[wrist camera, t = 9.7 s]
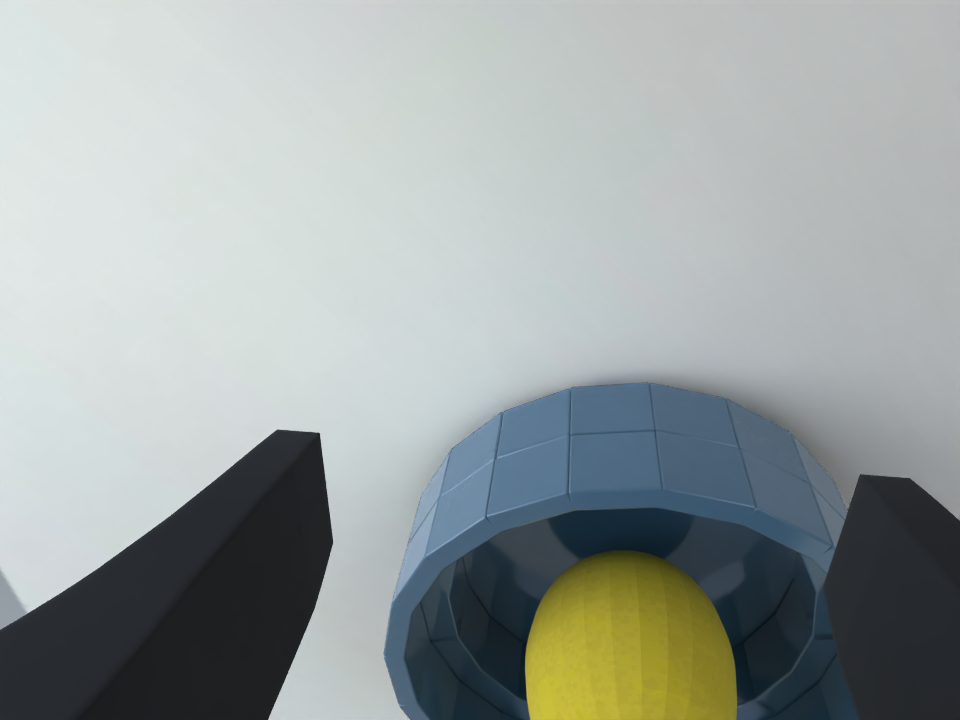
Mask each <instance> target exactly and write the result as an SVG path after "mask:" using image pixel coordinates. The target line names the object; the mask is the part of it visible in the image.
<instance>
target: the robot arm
mask: <svg viewBox="0 0 960 720" xmlns="http://www.w3.org/2000/svg"><path fill="white" fill-rule="evenodd" d="M332 545H333V537H332V529H331V521H330V513H329V505H328V497H327V489H326V481H325V473H324V464H323V456H322V448H321V440H320V433H314V432H301V431H288V430H276V431H275V432H274V433H272V434H271V435H270V436H268V437H267V438H266V439H265V440H263V441H262V442H261V443H260V444H258V445H257V446H256V447H255V448H254V449H252V450H251V451H250V452H249V453H248V454H246V455H245V456H244V457H243V458H241V459H240V460H239V461H238V462H237V463H235V464H234V465H233V466H232V467H231V468H229V469H228V470H227V471H226V472H224V473H223V474H222V475H221V476H220V477H218V478H217V479H216V480H215V481H214V482H212V483H211V484H210V485H209V486H207V487H206V488H205V489H203V490H202V491H201V492H200V493H198V494H197V495H196V496H195V497H193V498H192V499H191V500H190V501H188V502H187V503H186V504H185V505H183V506H182V507H181V508H180V509H178V510H177V511H176V512H175V513H173V514H172V515H171V516H170V517H168V518H167V519H166V520H164V521H163V522H162V523H160V524H159V525H157V526H156V527H155V528H153V529H152V530H151V531H149V532H148V533H146V534H145V535H144V536H142V537H141V538H140V539H138V540H137V541H135V542H134V543H133V544H131V545H130V546H129V547H127V548H126V549H124V550H123V551H122V552H120V553H119V554H118V555H116V556H115V557H113V558H112V559H111V560H109V561H108V562H106V563H105V564H104V565H102V566H101V567H100V568H98V569H97V570H95V571H94V572H92V573H91V574H89V575H88V576H86V577H85V578H83V579H82V580H80V581H79V582H77V583H76V584H74V585H73V586H71V587H70V588H68V589H66V590H65V591H63V592H62V593H60V594H59V595H57V596H56V597H54V598H52V599H51V600H49V601H47V602H46V603H44V604H42V605H41V606H39V607H38V608H36V609H34V610H33V611H31V612H29V613H28V614H26V615H25V616H23V617H22V618H20V619H18V620H17V621H15V622H13V623H11V624H10V625H8V626H6V627H4V628H3V629H1V630H0V720H268V718H269V716H270V714H271V711H272V709H273V707H274V704H275V702H276V699H277V697H278V695H279V692H280V690H281V688H282V685H283V683H284V681H285V678H286V676H287V674H288V671H289V669H290V667H291V664H292V662H293V659H294V657H295V655H296V652H297V650H298V647H299V645H300V643H301V640H302V638H303V635H304V633H305V631H306V628H307V626H308V623H309V621H310V618H311V616H312V614H313V611H314V609H315V605H316V602H317V599H318V595H319V592H320V588H321V585H322V582H323V578H324V574H325V571H326V567H327V563H328V560H329V556H330V552H331V548H332ZM823 589H824V595H825V600H826V605H827V610H828V615H829V620H830V625H831V630H832V635H833V639H834V644H835V648H836V652H837V657H838V661H839V664H840V667H841V670H842V673H843V676H844V679H845V682H846V685H847V688H848V691H849V693H850V696H851V699H852V702H853V705H854V708H855V711H856V714H857V717H858V720H960V521H959V520H958V519H957V518H956V517H955V516H954V515H953V514H951V513H950V512H949V511H948V510H947V509H946V508H945V507H943V506H942V505H941V504H940V503H939V502H938V501H937V500H935V499H934V498H933V497H932V496H931V495H929V494H928V493H927V492H926V491H925V490H924V489H922V488H921V487H920V486H919V485H917V484H916V483H915V482H914V481H912V480H911V479H910V478H900V477H887V476H874V475H861V474H860V476H859V479H858V482H857V485H856V488H855V492H854V495H853V498H852V501H851V504H850V507H849V510H848V513H847V516H846V519H845V522H844V525H843V528H842V531H841V534H840V537H839V540H838V543H837V546H836V549H835V552H834V555H833V558H832V561H831V564H830V567H829V570H828V573H827V576H826V579H825V582H824V585H823Z"/></svg>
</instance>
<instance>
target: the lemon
mask: <svg viewBox="0 0 960 720" xmlns="http://www.w3.org/2000/svg"><path fill="white" fill-rule="evenodd" d="M525 676H526V692H527V703H528V710H529V715H530V720H736V717H737V690H736V671H735V663H734V657H733V653H732V648H731V645H730V642H729V639H728V636H727V634H726V631H725V629H724V627H723V624H722V622H721V620H720V618H719V615H718V613H717V611H716V609H715V607H714V605H713V604H712V602H711V600H710V599H709V597H708V596H707V595H706V594H705V592H704V591H703V590H702V589H701V588H700V587H699V586H698V585H697V583H696V582H695V581H694V580H693V579H692V578H691V577H690V576H689V575H688V574H686V573H685V572H684V571H682V570H681V569H679V568H678V567H676V566H675V565H673V564H672V563H670V562H668V561H667V560H665V559H662V558H660V557H657V556H654V555H652V554H649V553H644V552H638V551H632V550H612V551H607V552H602V553H597V554H594V555H591V556H589V557H587V558H584V559H582V560H580V561H578V562H577V563H575V564H574V565H572V566H571V567H570V568H568V569H567V570H566V571H564V572H563V573H562V574H561V575H560V576H559V577H558V578H557V579H556V580H555V581H554V583H553V584H552V585H551V587H550V588H549V589H548V590H547V592H546V593H545V595H544V596H543V598H542V599H541V601H540V604H539V606H538V608H537V611H536V614H535V617H534V620H533V623H532V626H531V630H530V633H529V637H528V642H527V647H526V656H525Z"/></svg>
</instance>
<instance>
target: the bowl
mask: <svg viewBox="0 0 960 720" xmlns="http://www.w3.org/2000/svg"><path fill="white" fill-rule="evenodd" d="M847 513H848V512H847V509H846V507H845V505H844V502H843V500H842V498H841V495H840V493H839V490H838V488H837V486H836V483H835V482H834V480H833V478H832V477H831V476H830V475H829V474H828V473H827V471H826V470H825V469H824V468H823V467H822V466H821V465H820V464H819V463H818V462H817V461H816V460H815V458H814V457H813V456H812V455H811V454H810V453H809V452H808V451H807V450H806V449H805V448H804V447H803V446H802V444H801V443H800V442H799V441H798V440H797V439H796V438H795V437H794V436H793V435H792V434H791V433H790V432H789V431H788V430H786V429H784V428H782V427H780V426H778V425H776V424H774V423H772V422H770V421H769V420H767V419H765V418H763V417H761V416H759V415H757V414H755V413H753V412H752V411H750V410H748V409H746V408H744V407H742V406H740V405H738V404H736V403H734V402H733V401H731V400H729V399H725V398H723V397H718V396H713V395H708V394H703V393H698V392H693V391H688V390H683V389H678V388H673V387H669V386H664V385H659V384H654V383H650V384H649V383H631V384H615V385H599V386H583V387H572V388H571V389H567V390H564V391H561V392H558V393H555V394H552V395H549V396H546V397H543V398H540V399H538V400H535V401H532V402H529V403H526V404H523V405H520V406H517V407H514V408H512V409H509V410H506V411H504V413H503V412H501V413H500V414H498V415H497V416H496V417H494V418H493V419H491V420H490V421H489V422H487V423H486V424H485V425H483V426H482V427H481V428H479V429H478V430H477V431H475V432H474V433H473V434H471V435H470V436H469V437H467V438H466V439H464V440H463V441H462V442H460V443H459V444H458V445H456V446H455V447H454V448H452V450H451V451H450V452H449V453H448V455H447V457H446V458H445V460H444V461H443V463H442V464H441V466H440V467H439V469H438V470H437V472H436V474H435V475H434V477H433V478H432V480H431V481H430V483H429V484H428V486H427V487H426V489H425V491H424V492H423V494H422V496H421V498H420V502H419V506H418V509H417V513H416V517H415V520H414V524H413V527H412V531H411V535H410V538H409V542H408V546H407V549H406V553H405V556H404V560H403V564H402V567H401V571H400V574H399V578H398V582H397V585H396V589H395V592H394V596H393V600H392V603H391V608H390V615H389V621H388V628H387V634H386V641H385V648H384V659H385V662H386V666H387V669H388V672H389V675H390V678H391V681H392V685H393V688H394V691H395V694H396V697H397V701H398V704H399V706H400V708H401V709H402V710H403V711H404V713H405V714H406V715H407V716H408V718H409V719H410V720H530V715H529V710H528V703H527V692H526V676H525V656H526V647H527V642H528V637H529V633H530V630H531V626H532V623H533V620H534V617H535V614H536V611H537V608H538V606H539V604H540V601H541V599H542V598H543V596H544V595H545V593H546V592H547V590H548V589H549V588H550V587H551V585H552V584H553V583H554V581H555V580H556V579H557V578H558V577H559V576H560V575H561V574H562V573H563V572H564V571H566V570H567V569H568V568H570V567H571V566H572V565H574V564H575V563H577V562H578V561H580V560H582V559H584V558H587V557H589V556H591V555H594V554H597V553H602V552H607V551H612V550H632V551H638V552H644V553H649V554H652V555H654V556H657V557H660V558H662V559H665V560H667V561H668V562H670V563H672V564H673V565H675V566H676V567H678V568H679V569H681V570H682V571H684V572H685V573H686V574H688V575H689V576H690V577H691V578H692V579H693V580H694V581H695V582H696V583H697V585H698V586H699V587H700V588H701V589H702V590H703V591H704V592H705V594H706V595H707V596H708V597H709V599H710V600H711V602H712V604H713V605H714V607H715V609H716V611H717V613H718V615H719V618H720V620H721V622H722V624H723V627H724V629H725V631H726V634H727V636H728V639H729V642H730V645H731V648H732V653H733V657H734V663H735V671H736V690H737V717H736V720H858V717H857V714H856V711H855V708H854V705H853V702H852V699H851V696H850V693H849V691H848V688H847V685H846V682H845V679H844V676H843V673H842V670H841V667H840V664H839V661H838V657H837V652H836V648H835V644H834V639H833V635H832V630H831V625H830V620H829V615H828V610H827V605H826V600H825V595H824V589H823V585H824V582H825V579H826V576H827V573H828V570H829V567H830V564H831V561H832V558H833V555H834V552H835V549H836V546H837V543H838V540H839V537H840V534H841V531H842V528H843V525H844V522H845V519H846V516H847Z"/></svg>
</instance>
